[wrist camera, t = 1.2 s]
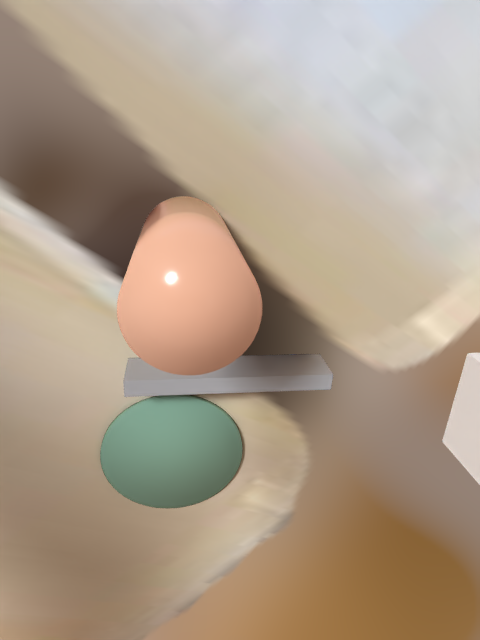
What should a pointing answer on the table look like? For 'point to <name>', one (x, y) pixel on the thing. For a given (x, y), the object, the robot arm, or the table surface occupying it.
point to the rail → (232, 376)
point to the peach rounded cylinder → (188, 291)
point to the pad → (171, 451)
